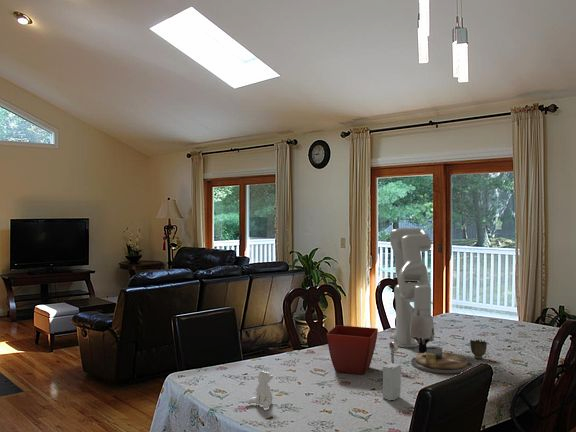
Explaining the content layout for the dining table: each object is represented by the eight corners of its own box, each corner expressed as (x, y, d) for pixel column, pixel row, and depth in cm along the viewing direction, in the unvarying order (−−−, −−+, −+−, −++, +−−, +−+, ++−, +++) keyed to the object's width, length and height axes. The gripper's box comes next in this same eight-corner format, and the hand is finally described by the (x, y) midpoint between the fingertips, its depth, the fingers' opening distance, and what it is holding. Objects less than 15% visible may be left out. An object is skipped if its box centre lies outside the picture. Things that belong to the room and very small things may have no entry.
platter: (406, 362, 231) (406, 350, 231) (429, 352, 248) (429, 340, 248) (453, 372, 216) (453, 359, 216) (475, 361, 233) (475, 348, 233)
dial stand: (384, 368, 228) (384, 340, 228) (390, 365, 232) (390, 338, 232) (396, 371, 224) (396, 343, 224) (402, 368, 228) (402, 341, 228)
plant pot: (378, 365, 232) (378, 327, 232) (370, 378, 214) (370, 337, 214) (336, 361, 238) (336, 324, 238) (325, 373, 220) (325, 333, 220)
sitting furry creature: (244, 406, 183) (244, 372, 183) (258, 398, 191) (258, 366, 191) (266, 411, 178) (266, 376, 178) (279, 403, 186) (279, 370, 186)
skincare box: (390, 394, 195) (390, 362, 195) (401, 397, 192) (401, 364, 192) (382, 399, 190) (381, 366, 190) (393, 402, 187) (392, 368, 187)
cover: (423, 357, 234) (423, 347, 234) (430, 354, 239) (430, 344, 239) (437, 360, 229) (437, 350, 229) (445, 356, 234) (445, 347, 234)
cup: (488, 361, 239) (488, 343, 239) (471, 360, 240) (471, 342, 240) (485, 356, 246) (485, 339, 246) (469, 355, 248) (469, 339, 248)
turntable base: (400, 366, 231) (400, 363, 231) (427, 354, 250) (427, 351, 250) (456, 378, 214) (456, 375, 214) (481, 364, 233) (481, 361, 233)
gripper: (403, 311, 240) (403, 351, 240) (433, 315, 230) (433, 357, 230) (411, 309, 246) (411, 348, 246) (441, 313, 236) (441, 353, 236)
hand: (422, 352), depth 238 cm, fingers closed
